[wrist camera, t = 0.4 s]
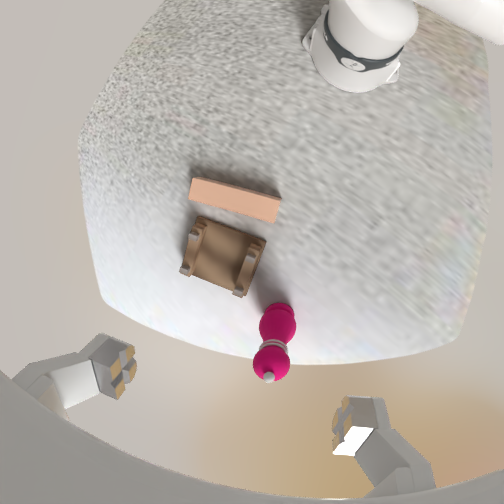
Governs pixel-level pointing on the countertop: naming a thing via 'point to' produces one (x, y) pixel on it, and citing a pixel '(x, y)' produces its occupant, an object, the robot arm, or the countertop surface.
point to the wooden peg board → (222, 255)
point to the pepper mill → (274, 342)
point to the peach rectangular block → (234, 198)
